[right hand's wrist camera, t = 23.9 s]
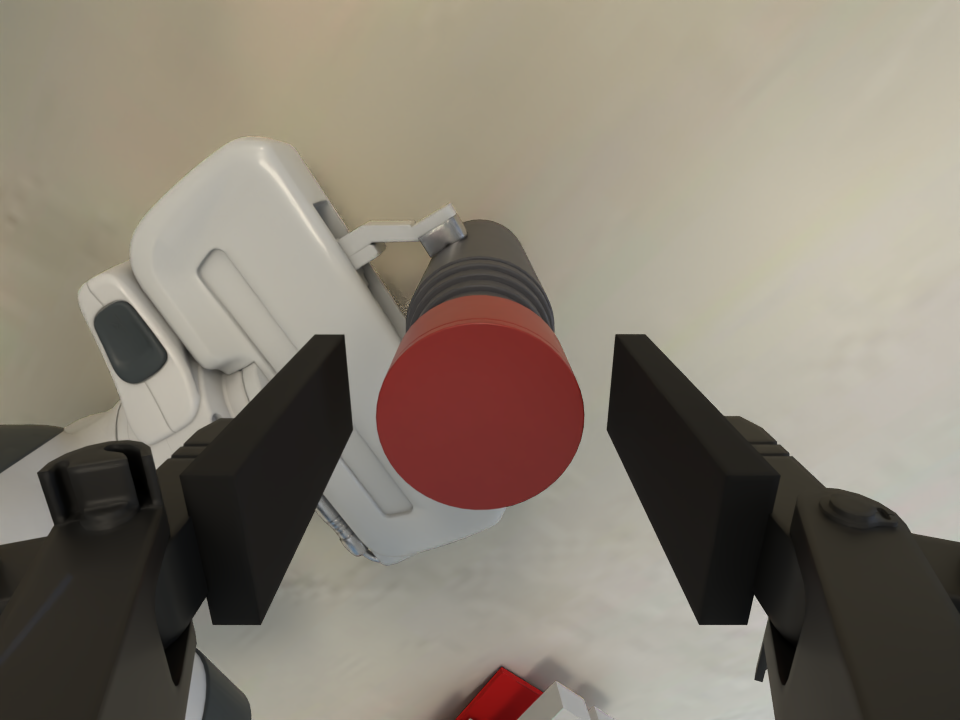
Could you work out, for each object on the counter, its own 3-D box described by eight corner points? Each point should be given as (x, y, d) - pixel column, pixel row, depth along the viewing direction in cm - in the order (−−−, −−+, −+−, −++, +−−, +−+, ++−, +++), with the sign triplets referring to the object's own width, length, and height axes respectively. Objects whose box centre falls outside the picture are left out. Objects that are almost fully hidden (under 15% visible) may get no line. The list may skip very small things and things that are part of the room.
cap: (557, 459, 15) (572, 515, 13) (393, 451, 15) (376, 505, 13) (576, 299, 14) (597, 328, 11) (392, 289, 13) (373, 316, 11)
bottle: (524, 311, 31) (582, 500, 13) (435, 311, 31) (378, 501, 13) (527, 219, 29) (596, 301, 12) (432, 219, 29) (362, 302, 12)
